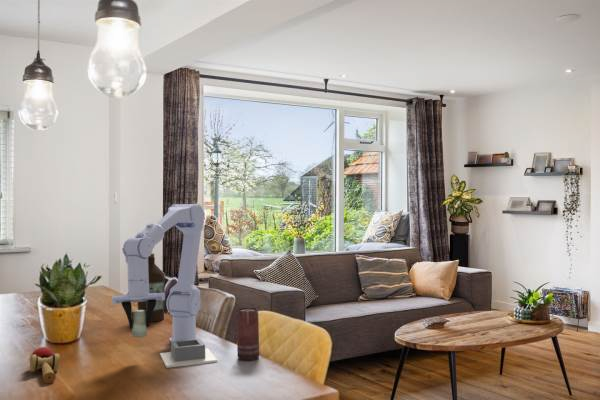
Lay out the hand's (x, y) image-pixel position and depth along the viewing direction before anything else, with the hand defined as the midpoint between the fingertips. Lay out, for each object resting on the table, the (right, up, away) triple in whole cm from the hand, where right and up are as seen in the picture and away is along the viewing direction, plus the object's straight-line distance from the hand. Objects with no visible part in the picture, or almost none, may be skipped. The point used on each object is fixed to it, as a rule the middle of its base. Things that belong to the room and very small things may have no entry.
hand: (139, 327), depth 170 cm
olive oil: (-11, -9, +56) cm, 58 cm away
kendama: (-22, -10, -12) cm, 27 cm away
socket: (+14, -9, +1) cm, 17 cm away
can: (+31, -9, 0) cm, 32 cm away
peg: (0, -2, 0) cm, 2 cm away
